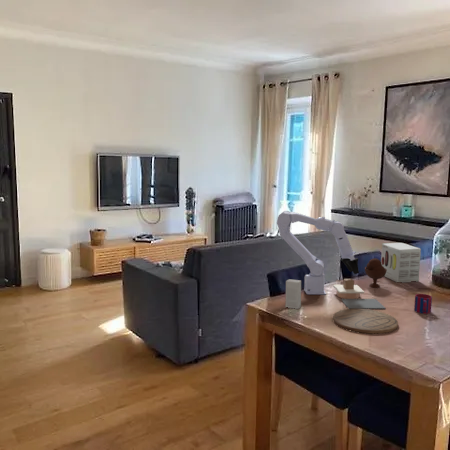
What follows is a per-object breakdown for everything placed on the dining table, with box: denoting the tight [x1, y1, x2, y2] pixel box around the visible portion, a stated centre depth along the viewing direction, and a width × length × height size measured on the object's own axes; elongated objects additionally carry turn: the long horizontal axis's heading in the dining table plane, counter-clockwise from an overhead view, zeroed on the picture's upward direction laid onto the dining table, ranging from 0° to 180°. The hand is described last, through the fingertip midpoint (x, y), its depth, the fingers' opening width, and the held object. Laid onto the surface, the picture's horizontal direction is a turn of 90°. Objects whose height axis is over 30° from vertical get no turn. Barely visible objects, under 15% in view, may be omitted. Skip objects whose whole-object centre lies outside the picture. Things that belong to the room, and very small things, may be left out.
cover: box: [333, 278, 365, 294], centre depth 221 cm, size 12×12×5 cm
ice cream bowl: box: [364, 258, 387, 289], centre depth 236 cm, size 11×11×15 cm
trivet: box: [332, 308, 399, 335], centre depth 187 cm, size 25×25×2 cm
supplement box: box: [380, 242, 422, 283], centre depth 253 cm, size 17×13×18 cm
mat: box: [340, 298, 386, 310], centre depth 209 cm, size 16×13×1 cm
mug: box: [413, 293, 433, 315], centre depth 198 cm, size 7×10×7 cm
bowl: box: [336, 290, 361, 299], centre depth 222 cm, size 10×10×3 cm
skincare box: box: [285, 278, 302, 310], centre depth 204 cm, size 6×4×12 cm
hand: (354, 272), depth 221 cm, fingers open, 7 cm apart
